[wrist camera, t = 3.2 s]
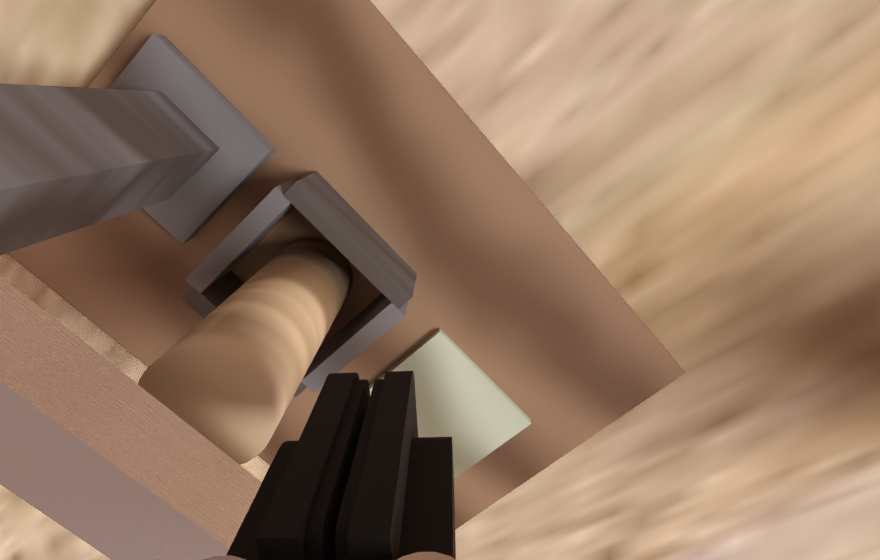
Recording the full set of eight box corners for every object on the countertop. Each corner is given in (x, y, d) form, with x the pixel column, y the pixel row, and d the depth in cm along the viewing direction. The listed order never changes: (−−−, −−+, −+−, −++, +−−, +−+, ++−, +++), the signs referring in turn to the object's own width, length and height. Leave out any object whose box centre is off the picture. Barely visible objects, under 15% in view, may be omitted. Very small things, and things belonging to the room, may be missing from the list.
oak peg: (312, 221, 22) (193, 322, 12) (368, 277, 23) (303, 417, 13) (260, 271, 23) (107, 407, 13) (316, 323, 24) (216, 490, 14)
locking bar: (-284, 189, 9) (-578, 224, 7) (-218, 73, 9) (-517, 58, 6) (319, 627, 13) (285, 761, 10) (401, 571, 12) (387, 700, 10)
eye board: (270, -117, 19) (-93, -567, 6) (674, 360, 26) (896, 612, 13) (-1, 223, 24) (-518, 359, 11) (400, 551, 30) (364, 872, 18)
